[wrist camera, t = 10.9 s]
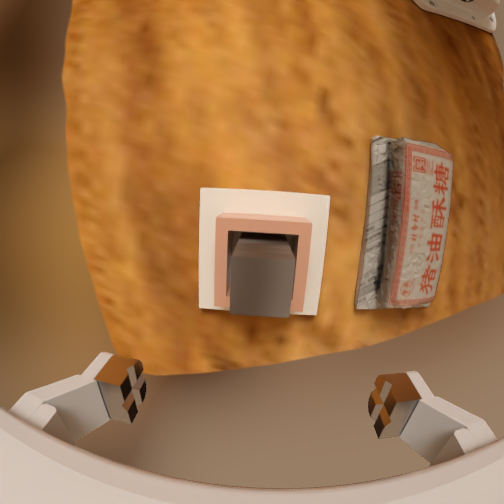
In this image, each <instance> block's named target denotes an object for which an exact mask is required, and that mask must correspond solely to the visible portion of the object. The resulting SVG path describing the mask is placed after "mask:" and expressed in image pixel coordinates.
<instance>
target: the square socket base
mask: <svg viewBox="0 0 504 504" xmlns="http://www.w3.org/2000/svg"><path fill="white" fill-rule="evenodd" d="M329 205H330V196H329V195H320V194H309V193H296V192H283V191H268V190H251V189H231V188H201V191H200V222H199V308H206V309H217V310H229V311H230V281H231V256H232V254H233V251H234V249H235V247H236V245H237V242H238V240H239V238H240V236H241V233H242V232H250V233H266V234H281V235H285V236H286V238H287V240H288V243H289V245H290V248H291V250H292V253H293V255H294V258H295V270H294V279H293V289H292V298H291V307H290V314H296V315H317V308H318V302H319V295H320V288H321V280H322V272H323V264H324V256H325V247H326V237H327V227H328V217H329Z"/></svg>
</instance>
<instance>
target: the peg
mask: <svg viewBox="0 0 504 504" xmlns="http://www.w3.org/2000/svg"><path fill="white" fill-rule="evenodd" d="M294 270H295V258H294V255H293V253H292V250H291V248H290V245H289V243H288V240H287V238H286V236H285V235H281V234H266V233H250V232H242V233H241V236H240V238H239V240H238V242H237V245H236V247H235V249H234V251H233V254H232V256H231V281H230V312H229V314H236V315H250V316H265V317H283V318H289V315H290V307H291V298H292V289H293V279H294Z"/></svg>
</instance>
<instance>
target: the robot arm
mask: <svg viewBox="0 0 504 504" xmlns="http://www.w3.org/2000/svg"><path fill="white" fill-rule="evenodd" d="M413 1H414V2H415V3H416V4H417V5H418V6H419V7H420V8H422V9H424V10H426V11H430V12H433V13H437V14H440V15H443V16H447V17H450V18H453V19H456V20H459V21H462V22H464V23H467V24H470V25H472V26H475V27H478V28H480V29H482V30H485V31H487V32H490V33H493V32H494V31H495V29H496V19H495V14H494V12H495V11H496V10H497V9H498V7H499V5H500V0H413ZM143 370H144V369H143V365H142V362H141V361H140V360H137V359H133V358H128V357H124V356H120V355H116V354H111V353H107V352H101V353H100V354H99V355H98V356H97V358H96V359H95V360H94V361H93V362H92V363H91V364H90V365H89V367H88V368H87V369H86V370H85V371H84V372H83V373H82V375H81V376H80V375H75V376H72V377H70V378H67V379H64V380H61V381H58V382H56V383H53V384H50V385H47V386H44V387H41V388H38V389H35V390H32V391H29V392H26V393H25V394H24V395H23V396H22V397H21V398H20V399H19V400H18V402H17V403H16V404H15V405H14V406H13V407H12V408H11V409H10V410H9V411H8V410H6V409H5V408H3V407H2V406H0V504H504V437H503V438H501V439H499V440H497V438H496V437H495V435H494V434H493V432H492V431H491V429H490V428H489V426H488V425H487V423H486V422H485V421H484V420H483V419H481V418H479V417H477V416H475V415H473V414H471V413H469V412H467V411H465V410H463V409H461V408H459V407H457V406H455V405H454V404H452V403H450V402H448V401H446V400H444V399H442V398H440V397H438V396H437V397H434V395H433V394H432V392H431V391H430V389H429V388H428V386H427V385H426V383H425V382H424V380H423V379H422V377H421V376H420V374H419V373H418V372H417V371H409V372H404V373H395V374H385V375H379V376H378V377H377V378H376V381H375V386H376V389H375V390H374V391H373V392H372V393H371V394H370V397H369V401H368V411H369V414H370V417H371V418H372V419H374V420H375V421H376V422H375V424H374V428H375V431H376V433H377V436H378V439H382V438H390V437H396V436H400V438H401V439H402V440H403V441H405V442H406V443H407V444H408V445H409V446H410V447H412V448H413V449H414V450H415V451H416V452H418V453H419V454H420V455H421V456H422V457H424V458H425V459H426V460H427V461H429V462H430V463H431V464H430V466H429V467H428V468H424V469H421V470H417V471H413V472H409V473H406V474H401V475H397V476H393V477H388V478H383V479H378V480H372V481H367V482H360V483H354V484H346V485H338V486H327V487H314V488H291V489H290V488H284V489H283V488H282V489H281V488H276V489H275V488H274V489H273V488H250V487H237V486H227V485H226V486H225V485H218V484H210V483H203V482H197V481H191V480H185V479H180V478H175V477H170V476H166V475H162V474H157V473H153V472H149V471H145V470H142V469H138V468H135V467H131V466H128V465H125V464H122V463H118V462H115V461H113V460H110V459H107V458H104V457H101V456H98V455H96V454H93V453H91V452H88V451H86V450H83V449H80V448H78V447H76V445H75V443H74V442H75V441H76V440H78V439H80V438H81V437H83V436H85V435H86V434H88V433H90V432H91V431H93V430H95V429H96V428H98V427H99V426H101V425H103V424H104V423H106V422H107V421H109V420H110V419H113V420H117V421H121V422H124V423H128V424H132V422H133V420H134V418H135V417H136V415H137V413H138V410H137V406H138V405H140V404H142V403H143V401H144V399H145V395H146V380H145V378H144V377H143V376H142V375H141V373H142V371H143Z"/></svg>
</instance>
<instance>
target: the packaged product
mask: <svg viewBox="0 0 504 504" xmlns="http://www.w3.org/2000/svg"><path fill="white" fill-rule="evenodd" d="M452 174H453V158H452V155H450V154H449V152H446V151H445V150H444V149H442V148H441V147H439V146H437V145H436V144H434V143H428V142H423V141H413V140H411V139H408V138H406V137H403V138H398V139H392V138H387V137H381V136H374V137H372V138H371V156H370V174H369V184H368V192H367V204H366V213H365V222H364V229H363V238H362V246H361V254H360V263H359V271H358V279H357V287H356V294H355V307H356V309H388V308H401V309H405V308H416V307H429V304H430V302H432V301H433V299H434V297H435V293H436V289H437V285H438V281H439V276H440V271H441V267H442V262H443V256H444V249H445V244H446V237H447V230H448V222H449V213H450V202H451V192H452V177H453V175H452Z"/></svg>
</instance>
